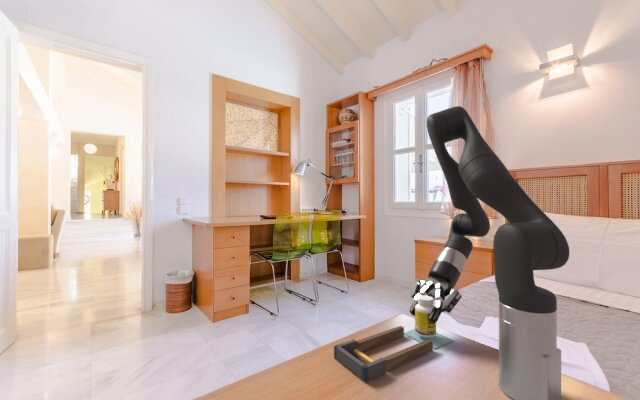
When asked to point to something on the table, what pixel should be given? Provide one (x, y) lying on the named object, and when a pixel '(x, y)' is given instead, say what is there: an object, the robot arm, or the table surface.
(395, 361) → the chute
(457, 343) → the table surface
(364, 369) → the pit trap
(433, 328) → the supplement bottle
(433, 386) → the table surface
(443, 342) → the pad
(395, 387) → the table surface
